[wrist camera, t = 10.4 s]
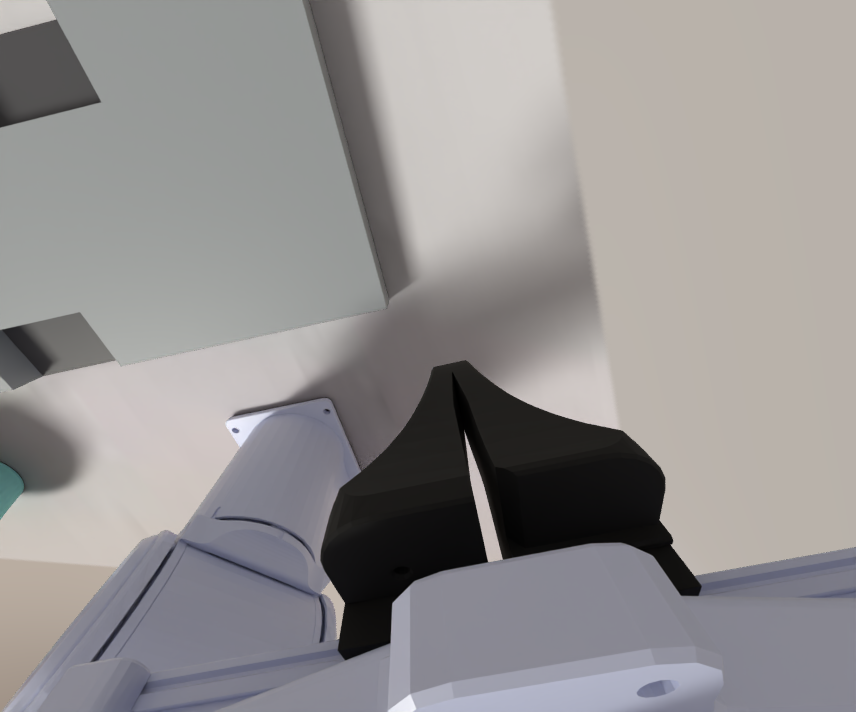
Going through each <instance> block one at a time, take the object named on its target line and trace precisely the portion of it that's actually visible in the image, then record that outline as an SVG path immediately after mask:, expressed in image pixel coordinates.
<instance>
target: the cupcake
mask: <svg viewBox="0 0 856 712" xmlns="http://www.w3.org/2000/svg"><path fill="white" fill-rule="evenodd" d="M23 490H24V483H23V480H22V479H21V477H20V476H19V475H18V474H17V473H16V472H15V471H14V470H13V469H12V468H10V467H9V466H7V465H5V464H3V463H1V462H0V519H1V518H2V517H3V515H4V514H5V513H6V512H7V510H8V509H9V508H10V506H11V505H12V504H13V503H14V502H15V500H16V499H17V498H18V497H19V496H20V495H21V493H22V492H23Z"/></svg>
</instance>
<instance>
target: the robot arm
mask: <svg viewBox="0 0 856 712" xmlns="http://www.w3.org/2000/svg"><path fill="white" fill-rule="evenodd" d="M325 409H329V410H330V411H326V410H325ZM226 427H227V428H228V430H229V431H230V433H231V434H232V436H233V438H234V439H235V441H236V442H237V444H238V445H239V447H240V449H239V450H238V452H237V453H236V454H235V456H234V457H233V459H232V460H231V462H230V463H229V464H228V466H227V467H226V469H225V470H224V472H223V473H222V474H221V476H220V477H219V479H218V480H217V482H216V483H215V484H214V486H213V487H212V489H211V490H210V492H209V493H208V494H207V496H206V497H205V499H204V500H203V502H202V503H201V504H200V506H199V507H198V509H197V510H196V512H195V513H194V514H193V516H192V517H191V519H190V520H189V522H188V523H187V524H186V526H185V527H184V529H183V530H182V531H181V532H180V533H179V534H178V535H176V534H174V533H172V532H170V531H168V530H164V531H162V532H160V533H159V534H158V535H154V536H151V537H148V538H145V539H143V540H141V541H140V542H139V543H138V545H137V546H136V547H135V548H134V549H133V550H132V551H131V552H130V554H129V555H128V556H127V557H126V558H125V559H124V561H123V562H122V563H121V564H120V565H119V567H118V568H117V569H116V570H115V571H114V573H113V574H112V575H111V576H110V577H109V579H108V580H107V581H106V582H105V583H104V584H103V586H102V587H101V588H100V589H99V591H98V592H97V593H96V594H95V595H94V597H93V598H92V599H91V600H90V602H89V603H88V604H87V605H86V606H85V607H84V609H83V610H82V611H81V613H80V614H79V615H78V616H77V617H76V618H75V620H74V621H73V622H72V623H71V625H70V626H69V627H68V628H67V630H66V631H65V632H64V633H63V634H62V636H61V637H60V638H59V639H58V641H57V642H56V643H55V644H54V646H53V647H52V648H51V649H50V651H49V652H48V653H47V654H46V656H45V657H44V658H43V659H42V661H41V662H40V663H39V664H38V665H37V667H36V668H35V669H34V671H33V672H32V673H31V675H30V676H29V677H28V678H27V679H26V680H25V682H24V683H23V684H22V686H21V687H20V688H19V690H18V691H17V692H16V693H15V695H14V696H13V697H12V698H11V700H10V701H9V702H8V704H7V705H6V706H5V708H4V709H3V710H2V712H856V547H854V548H848V549H843V550H837V551H831V552H826V553H821V554H815V555H809V556H803V557H798V558H792V559H786V560H781V561H775V562H770V563H764V564H758V565H753V566H747V567H742V568H736V569H730V570H725V571H719V572H713V573H708V574H702V575H697V576H694V575H693V574H692V572H691V571H690V570H689V569H688V567H687V566H686V565H685V563H684V562H683V561H682V560H681V558H680V557H679V556H678V554H677V553H676V552H675V550H674V549H673V548H672V546H671V544H672V543H673V539H672V536H671V534H670V533H669V532H668V531H667V529H666V528H665V527H664V526H663V524H662V523H661V522H660V521H659V519H660V514H661V509H662V504H663V498H664V493H665V476H664V474H663V472H662V470H661V468H660V467H659V466H658V465H657V464H656V462H655V461H654V460H652V458H651V457H650V456H649V455H648V454H647V453H646V452H645V451H644V450H643V449H642V448H641V447H640V446H639V445H638V444H637V443H636V442H635V441H633V440H632V439H631V438H630V437H629V436H628V435H627V434H626V433H624V432H623V431H621V430H616V429H612V428H607V427H602V426H597V425H592V424H587V423H583V422H579V421H576V420H572V419H568V418H565V417H562V416H559V415H556V414H552V413H550V412H547V411H545V410H542V409H539V408H537V407H534V406H532V405H530V404H527V403H525V402H523V401H521V400H519V399H517V398H515V397H513V396H512V395H510V394H508V393H507V392H505V391H504V390H502V389H501V388H499V387H498V386H496V385H495V384H493V383H492V382H491V381H489V380H488V379H487V378H486V377H484V376H483V375H482V374H481V373H480V372H478V371H477V370H476V369H475V368H474V367H473V366H472V365H471V364H470V363H469V362H467V361H466V360H465V361H460V362H455V363H451V364H446V365H442V366H437V367H434V368H433V369H432V372H431V376H430V379H429V382H428V385H427V387H426V390H425V392H424V394H423V397H422V399H421V401H420V402H419V404H418V406H417V408H416V410H415V412H414V414H413V415H412V417H411V418H410V420H409V421H408V423H407V424H406V426H405V427H404V429H403V430H402V431H401V433H400V434H399V435H398V436H397V437H396V439H395V440H394V441H393V442H392V443H391V444H390V445H389V447H388V448H387V449H386V450H385V451H384V452H383V453H382V454H381V455H380V456H378V457H377V458H376V459H375V460H374V461H373V462H372V463H371V464H370V465H369V466H367V467H366V468H365V469H364V470H363V471H361V470H360V468H359V465H358V463H357V460H356V458H355V456H354V453H353V451H352V448H351V446H350V444H349V441H348V439H347V437H346V434H345V432H344V429H343V427H342V425H341V422H340V420H339V417H338V415H337V413H336V410H335V408H334V406H333V403H332V401H331V400H330V399H328V398H321V399H316V400H311V401H306V402H302V403H297V404H292V405H287V406H282V407H278V408H273V409H268V410H263V411H258V412H253V413H249V414H244V415H239V416H234V417H230V418H229V419H228V420H227V421H226ZM236 428H238V429H239V430H237V429H236ZM464 431H465V433H466V436H467V439H468V442H469V445H470V447H471V450H472V453H473V456H474V458H475V461H476V464H477V467H478V469H479V472H480V475H481V478H482V481H483V484H484V487H485V491H486V495H487V499H488V502H489V506H490V510H491V514H492V518H493V522H494V526H495V530H496V534H497V538H498V542H499V546H500V550H501V554H502V558H503V560H499V561H494V562H488V560H487V555H486V551H485V546H484V541H483V537H482V532H481V528H480V523H479V518H478V514H477V509H476V505H475V500H474V496H473V491H472V487H471V481H470V474H469V466H468V458H467V449H466V441H465V433H464ZM330 580H331V582H332V584H333V585H334V587H335V588H336V590H337V591H338V593H339V594H340V596H341V597H342V599H343V600H344V602H345V607H344V613H343V619H342V626H341V632H340V638H339V639H338V640H336V636H337V635H336V616H335V609H334V606H333V603H332V601H331V600H330V598H329V597H327V596H326V595H324V594H321V592H322V590H323V589H324V588H325V587H326V586H327V584H328V583H329V582H330Z"/></svg>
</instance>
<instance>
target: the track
mask: <svg viewBox="0 0 856 712" xmlns="http://www.w3.org/2000/svg"><path fill="white" fill-rule="evenodd" d="M46 1H47V2H48V4H49V6H50V8H51V10H52V12H53V14H54V15H55V17H56V19H57V20H54V21H50V22H46V23H42V24H39V25H35V26H31V27H27V28H23V29H20V30H16V31H12V32H8V33H4V34H1V35H0V393H1V392H5V391H10V390H14V389H16V388H18V387H20V386H23V385H25V384H27V383H29V382H31V381H33V380H36V379H38V378H40V377H42V376H45V375H50V374H55V373H59V372H64V371H68V370H73V369H78V368H82V367H87V366H91V365H96V364H101V363H105V362H110V361H114V360H116V361H117V362H118V363H119V365H120V366H125V365H130V364H135V363H139V362H144V361H148V360H153V359H158V358H162V357H167V356H172V355H176V354H181V353H185V352H190V351H195V350H199V349H204V348H208V347H213V346H218V345H222V344H227V343H231V342H236V341H241V340H245V339H250V338H255V337H259V336H264V335H268V334H273V333H278V332H282V331H287V330H291V329H296V328H301V327H305V326H310V325H314V324H319V323H324V322H328V321H333V320H338V319H342V318H347V317H351V316H356V315H361V314H365V313H370V312H374V311H379V310H384V309H387V307H388V302H389V298H388V294H387V290H386V286H385V283H384V279H383V275H382V272H381V268H380V264H379V260H378V257H377V253H376V249H375V245H374V242H373V238H372V234H371V231H370V227H369V223H368V219H367V216H366V212H365V208H364V204H363V201H362V197H361V193H360V190H359V186H358V182H357V178H356V175H355V171H354V167H353V163H352V160H351V156H350V152H349V149H348V145H347V141H346V137H345V134H344V130H343V126H342V122H341V119H340V115H339V111H338V108H337V104H336V100H335V96H334V93H333V89H332V85H331V81H330V78H329V74H328V70H327V67H326V63H325V59H324V55H323V52H322V48H321V44H320V40H319V37H318V33H317V29H316V26H315V22H314V18H313V14H312V11H311V7H310V3H309V0H46Z"/></svg>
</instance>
